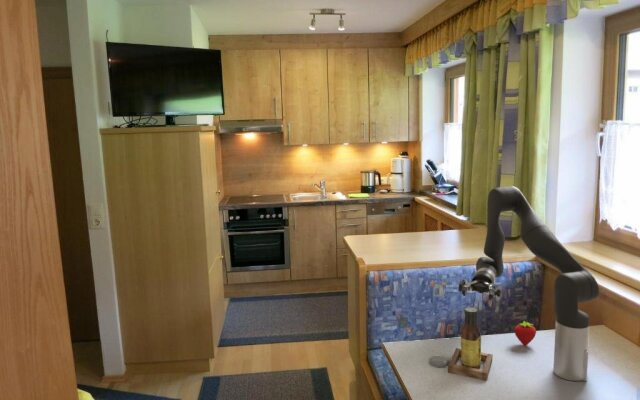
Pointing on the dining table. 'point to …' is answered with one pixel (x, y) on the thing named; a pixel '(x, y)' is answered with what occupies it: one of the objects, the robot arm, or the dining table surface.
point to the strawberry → (525, 332)
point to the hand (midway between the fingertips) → (476, 295)
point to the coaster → (439, 361)
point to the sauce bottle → (471, 340)
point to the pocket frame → (469, 371)
